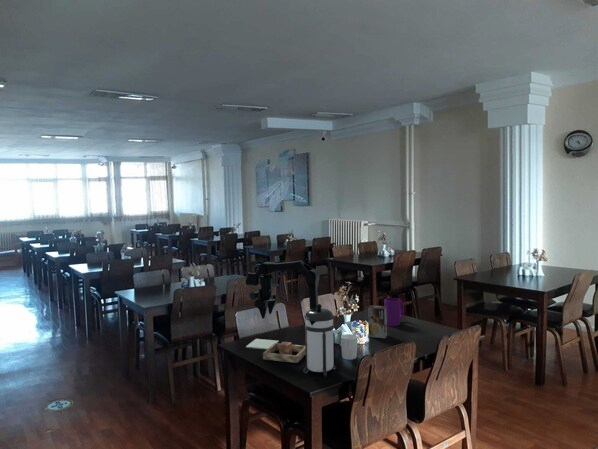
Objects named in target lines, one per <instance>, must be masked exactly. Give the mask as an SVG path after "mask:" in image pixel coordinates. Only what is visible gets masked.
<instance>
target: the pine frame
mask: <svg viewBox="0 0 598 449" xmlns="http://www.w3.org/2000/svg"><path fill="white" fill-rule="evenodd" d="M280 344H281V343H279V342H278V343H274V344H273V345H272V346H271V347H269V348H268V349H267V350H266V349H265V351H263V352H262V359H263V360H265V361H276V362H277V361H278V362H284V363H285V362H287V363H295V364H298V363H300V361H301V360H302V359H303V357H304V356H306V345H299V344H292V352H295V353H297V354H296V355H294V354H292V355H286V354H280V353H275V352H276V351H279V345H280Z"/></svg>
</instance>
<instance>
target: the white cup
mask: <svg viewBox="0 0 598 449" xmlns="http://www.w3.org/2000/svg"><path fill="white" fill-rule="evenodd" d="M340 343H341V344H340V345H341V346H340V347H341V355H342V356H341V357H342V358H343V359H344V360H348V361H350V360H351V361H352V360H355V359H357V353H358V335H356V334H351V333H349V334H348V333H347V334H342V335H341V336H340Z"/></svg>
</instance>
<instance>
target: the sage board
mask: <svg viewBox="0 0 598 449" xmlns="http://www.w3.org/2000/svg"><path fill="white" fill-rule="evenodd" d="M279 342H280V341H279V340H276V339H275V340H273V339H261V338H255V339H254V340H252V341H251V342H249V343H248V344H247V345H246V346H245V348H247V349H256V350H257V349H258V350H265V351H266V350H267V349H268V348H269V347H271V346H272V345H273V344H274V343H279Z"/></svg>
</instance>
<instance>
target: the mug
mask: <svg viewBox="0 0 598 449" xmlns="http://www.w3.org/2000/svg"><path fill="white" fill-rule="evenodd" d="M383 302H384V303H383V304H384V305H383V306H386V307H387V327H399V326H400V325H401V320H402V319H403V318H404V314H405V306H404V303H403V301H402V300H401V299H400V298H396V297H386V298H384V300H383Z"/></svg>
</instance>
